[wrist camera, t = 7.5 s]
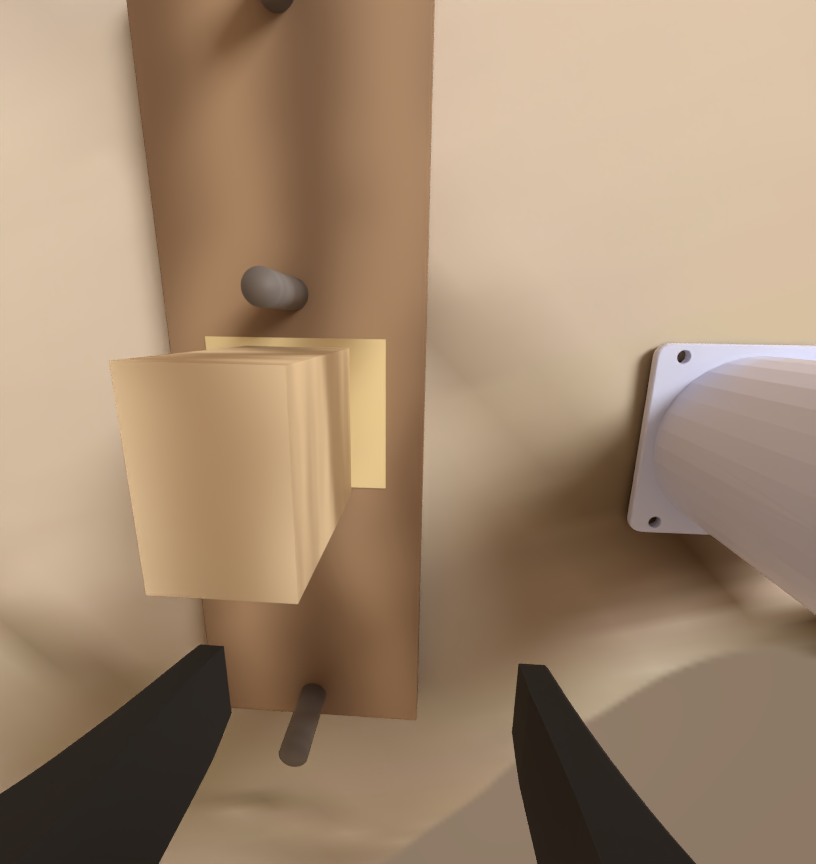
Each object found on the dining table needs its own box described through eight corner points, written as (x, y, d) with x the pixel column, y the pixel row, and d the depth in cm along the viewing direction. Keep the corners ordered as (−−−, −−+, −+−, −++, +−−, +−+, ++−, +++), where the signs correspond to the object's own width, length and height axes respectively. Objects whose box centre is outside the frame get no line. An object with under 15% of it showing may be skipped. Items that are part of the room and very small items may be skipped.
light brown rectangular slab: (349, 348, 16) (285, 365, 9) (351, 495, 17) (297, 603, 11) (242, 345, 16) (102, 360, 9) (253, 490, 18) (140, 594, 11)
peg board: (435, -24, 14) (435, -179, 10) (417, 693, 22) (413, 786, 17) (151, -15, 15) (31, -158, 10) (229, 681, 22) (179, 768, 18)
